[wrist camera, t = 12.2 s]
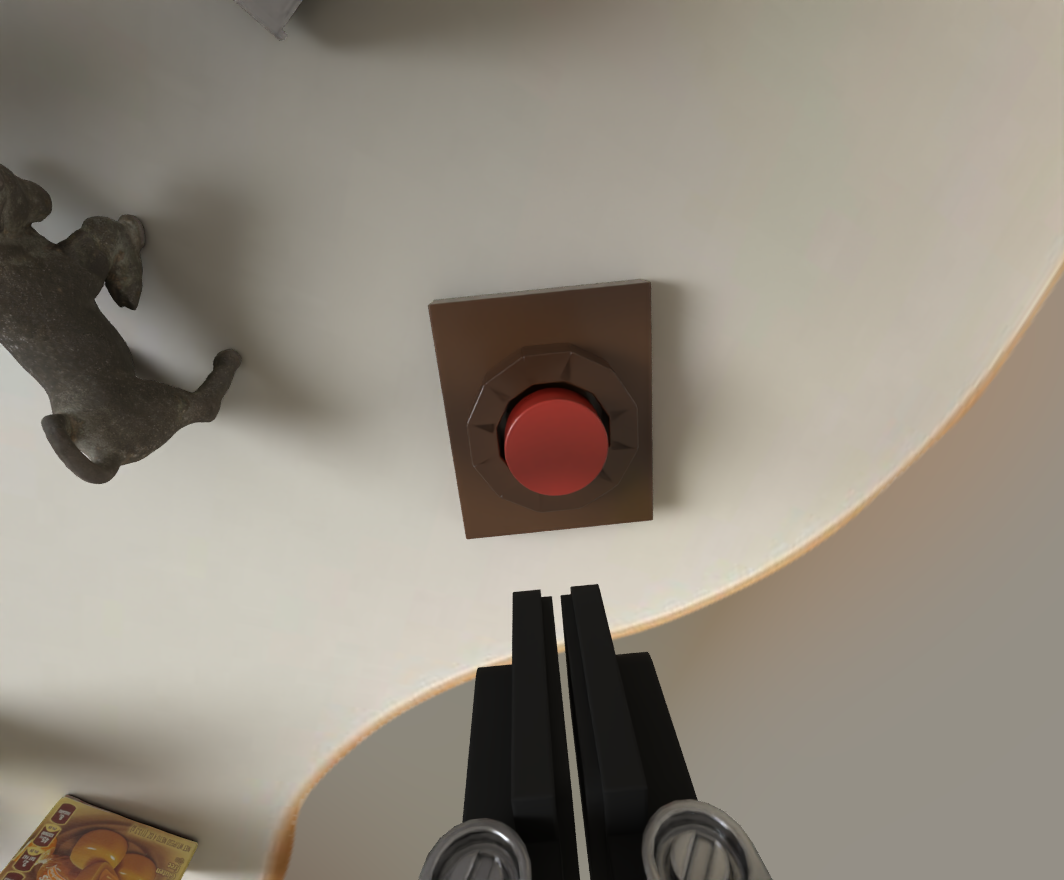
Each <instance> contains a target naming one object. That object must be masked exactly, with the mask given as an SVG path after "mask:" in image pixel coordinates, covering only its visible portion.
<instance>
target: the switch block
mask: <svg viewBox="0 0 1064 880" xmlns="http://www.w3.org/2000/svg"><path fill="white" fill-rule="evenodd" d="M428 309H429V315H430V321H431V327H432V333H433V340H434V346H435V352H436V358H437V364H438V370H439V376H440V382H441V388H442V394H443V400H444V406H445V413H446V419H447V425H448V431H449V437H450V443H451V449H452V455H453V461H454V467H455V473H456V479H457V486H458V492H459V498H460V504H461V510H462V516H463V522H464V528H465V534H466V538H467V539H474V538H484V537H494V536H503V535H513V534H523V533H533V532H542V531H552V530H562V529H571V528H581V527H591V526H600V525H610V524H620V523H629V522H639V521H649V520H653V456H652V335H651V282H648V281H645V280H641V279H636V280H626V281H616V282H606V283H596V284H587V285H577V286H567V287H557V288H547V289H537V290H528V291H518V292H508V293H498V294H488V295H478V296H468V297H459V298H449V299H439V300H434V301H433V302H431V303H430V304H429V305H428ZM555 387H557V388H565V389H569V390H572V391H575V392H577V393H578V394H580V395H582V396H583V397H585V398H586V399H587V400H588V401H589V402H590V403H591V404H592V405H593V407H594V408H595V410H596V411H597V413H598V415H599V417H600V419H601V421H602V423H603V425H604V427H605V430H606V432H607V436H608V455H607V459H606V462H605V464H604V466H603V468H602V470H601V471H600V473H599V474H598V476H597V477H596V478H595V479H594V480H593V481H592V482H591V483H590V484H588V485H587V486H586V487H584V488H582V489H580V490H578V491H576V492H574V493H570V494H566V495H559V496H551V495H544V494H540V493H537V492H534V491H532V490H530V489H528V488H526V487H525V486H523V485H522V484H521V483H520V482H518V480H517V479H516V478H515V477H514V476H513V474H512V473H511V471H510V469H509V468H508V465H507V462H506V459H505V451H504V442H505V426H506V422H507V419H508V417H509V415H510V413H511V411H512V409H513V408H514V407H515V405H516V404H517V403H518V402H519V401H520V400H522V399H523V398H524V397H525V396H527V395H529V394H530V393H532V392H535V391H537V390H541V389H545V388H555Z"/></svg>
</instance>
